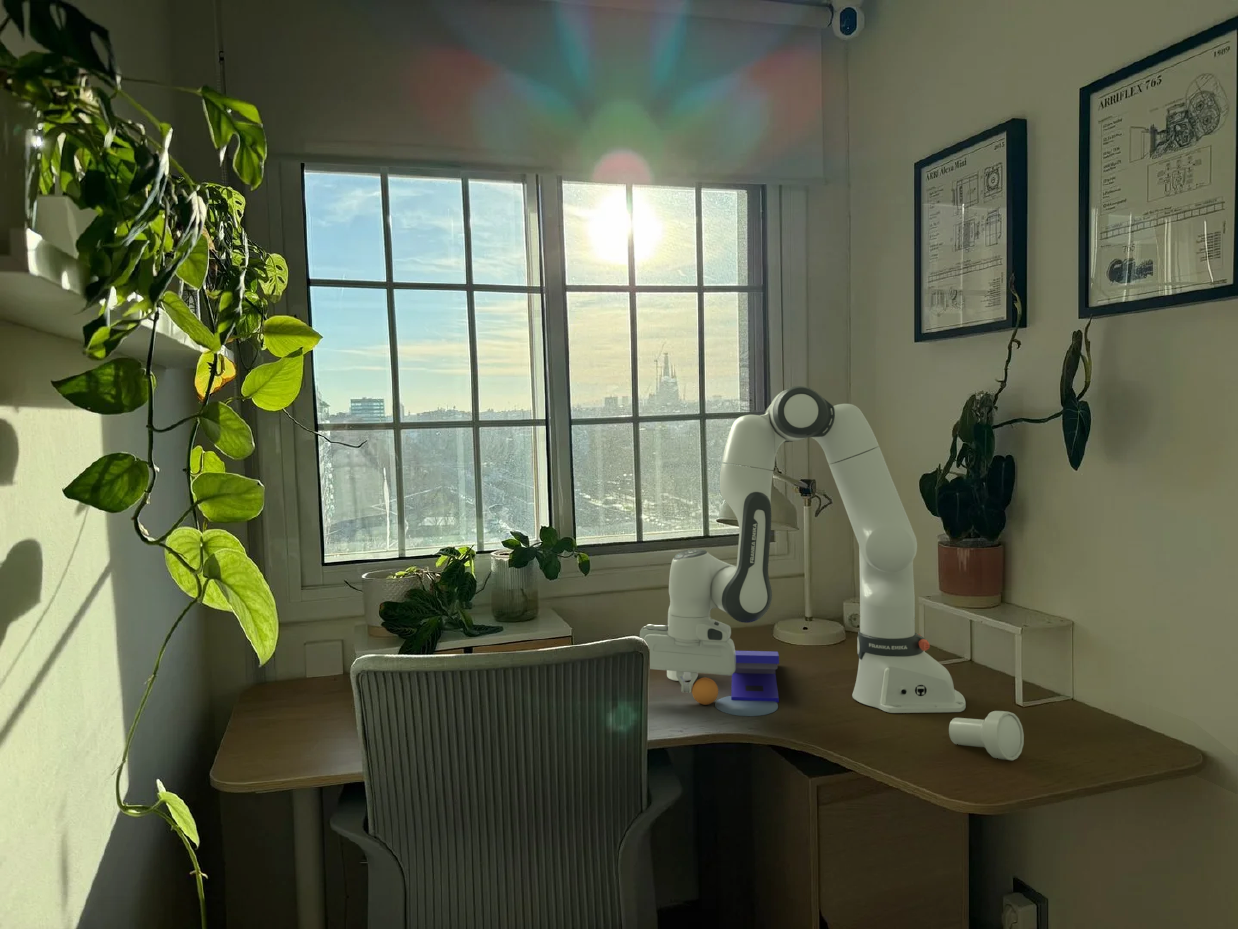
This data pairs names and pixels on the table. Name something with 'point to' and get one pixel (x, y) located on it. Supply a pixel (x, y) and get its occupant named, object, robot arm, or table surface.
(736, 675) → the stapler
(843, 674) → the table surface
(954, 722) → the spotlight
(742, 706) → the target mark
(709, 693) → the ball
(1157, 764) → the table surface
